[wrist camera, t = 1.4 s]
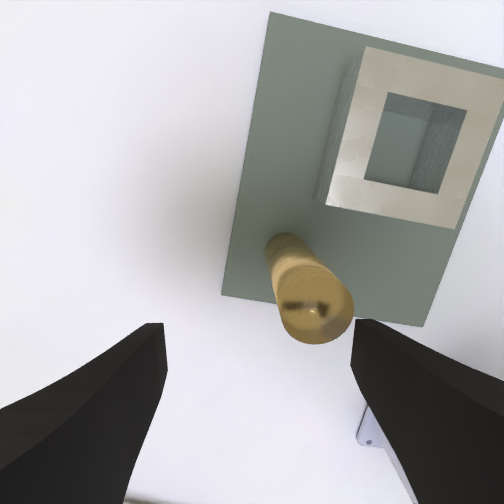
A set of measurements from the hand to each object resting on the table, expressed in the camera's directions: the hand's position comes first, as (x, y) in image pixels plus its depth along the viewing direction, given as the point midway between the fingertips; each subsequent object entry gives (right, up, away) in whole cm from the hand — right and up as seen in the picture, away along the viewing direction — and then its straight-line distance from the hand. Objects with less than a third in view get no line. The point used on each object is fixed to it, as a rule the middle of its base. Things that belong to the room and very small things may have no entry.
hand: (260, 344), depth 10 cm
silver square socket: (+8, +10, +8) cm, 15 cm away
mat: (+7, +8, +9) cm, 14 cm away
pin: (+2, +3, +10) cm, 10 cm away
